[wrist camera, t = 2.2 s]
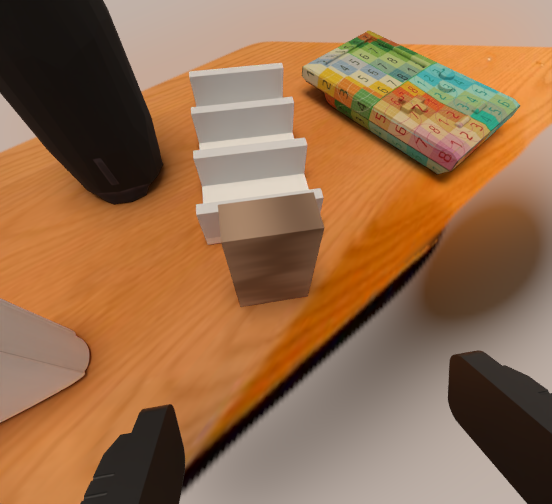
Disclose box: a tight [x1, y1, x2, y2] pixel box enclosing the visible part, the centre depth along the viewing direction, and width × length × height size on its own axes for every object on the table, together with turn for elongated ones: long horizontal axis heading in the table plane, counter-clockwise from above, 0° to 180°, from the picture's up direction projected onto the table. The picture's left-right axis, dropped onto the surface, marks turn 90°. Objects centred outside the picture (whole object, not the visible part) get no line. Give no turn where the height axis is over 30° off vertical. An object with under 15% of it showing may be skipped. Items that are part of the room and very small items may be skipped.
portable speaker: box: [0, 0, 163, 204], centre depth 23 cm, size 9×9×20 cm
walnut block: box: [218, 192, 324, 307], centre depth 21 cm, size 6×2×10 cm, turn 100°
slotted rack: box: [189, 63, 323, 245], centre depth 31 cm, size 10×19×4 cm, turn 10°
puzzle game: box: [302, 31, 520, 174], centre depth 35 cm, size 12×5×20 cm
